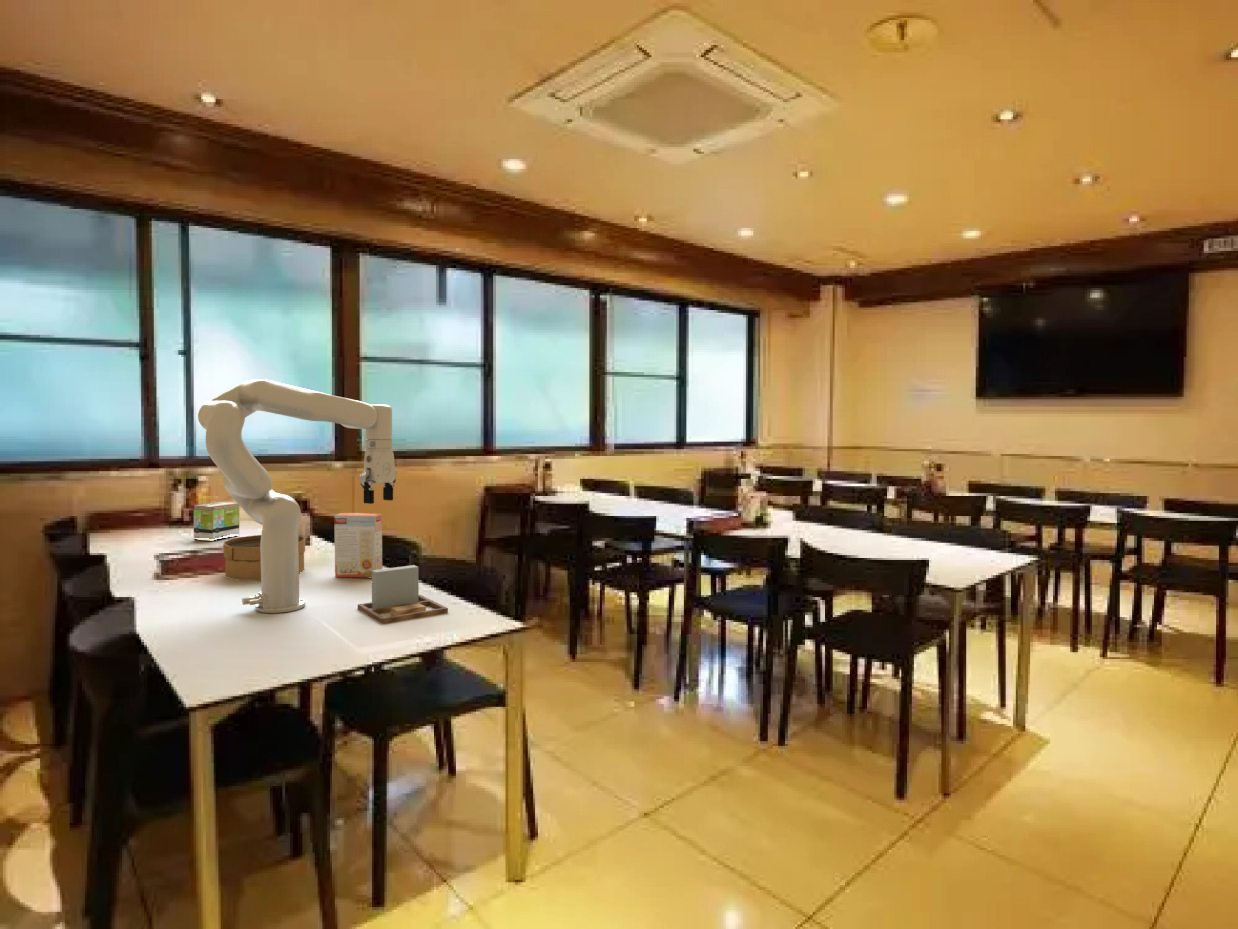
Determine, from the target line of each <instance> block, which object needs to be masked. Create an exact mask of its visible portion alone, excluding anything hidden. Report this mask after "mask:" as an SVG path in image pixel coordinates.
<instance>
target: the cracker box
mask: <svg viewBox="0 0 1238 929" xmlns="http://www.w3.org/2000/svg"><path fill="white" fill-rule="evenodd" d="M333 517H334V519H333V520H334V575H335V576H334V577H335V578H352V577H371V578H370V579H372V570H379V569H383V526H382V525H383V522H382V521H383V519H382V517H383V514H382V513H366V512H363V513H362V512H341V513H336V514H334V516H333Z"/></svg>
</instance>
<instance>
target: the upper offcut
mask: <svg viewBox="0 0 1238 929" xmlns="http://www.w3.org/2000/svg"><path fill="white" fill-rule="evenodd" d="M426 609H427V606H424V605H422V604H420V603H418V604H412V605H405V606H399V607H393V608H391V612H390V615H391V616H392V615H393V616H397V615H403V614H409V613H415V612H421V611H427V610H426Z"/></svg>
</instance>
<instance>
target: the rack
mask: <svg viewBox="0 0 1238 929" xmlns="http://www.w3.org/2000/svg"><path fill="white" fill-rule="evenodd" d="M418 603H420V604H422V605H424V606H426V607H430V608H433V609H428V610H426V611H421V612H415V613H409V614H403V615H397V616H392V615H391V616H387V617H384V616H383V615H382V614H387V613H391V608H393V607H399V606H405V605H412V604H418ZM357 610H358V611H360V612H362V613H363V614H365V615H366V616H368V617H370V618H371V619H373V620H375V621H376V622H377V623H380V625H385V624H386V625H387V624H391V623H396V622H403V621H408V620H414V619H421V618H425V617H427V618H428V617H432V616H436V615H437V616H438V615H444V614H448V613H449V608H448V607H447V606H445V605H442V604H441V603H439V602H436V601H434V600H432V599H430V598H428V597H426V596H424V595H422V594H419V602H415V603H408V604H402V605H396V606H389V607H383V608H377V609H372V601H371V602H363V603H358V604H357Z"/></svg>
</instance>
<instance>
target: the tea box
mask: <svg viewBox="0 0 1238 929" xmlns="http://www.w3.org/2000/svg"><path fill="white" fill-rule="evenodd" d="M230 534H239V535H240V505H239V504H238V503H237V502H229V501H218V502H211V503H203V504H195V505H193V539H194V538H209V539H215V538H219V537H223V536H227V535H230Z"/></svg>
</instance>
